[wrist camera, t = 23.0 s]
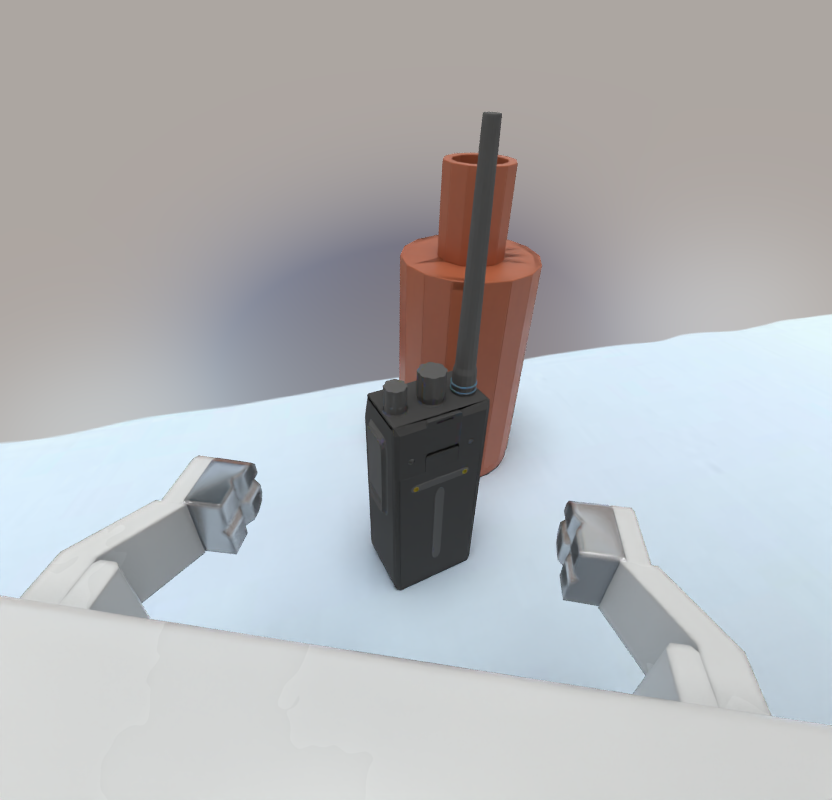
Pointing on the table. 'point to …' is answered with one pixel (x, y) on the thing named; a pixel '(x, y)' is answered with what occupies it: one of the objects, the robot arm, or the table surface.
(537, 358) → the table surface
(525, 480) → the table surface
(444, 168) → the bottle
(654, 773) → the robot arm
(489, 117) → the walkie-talkie
